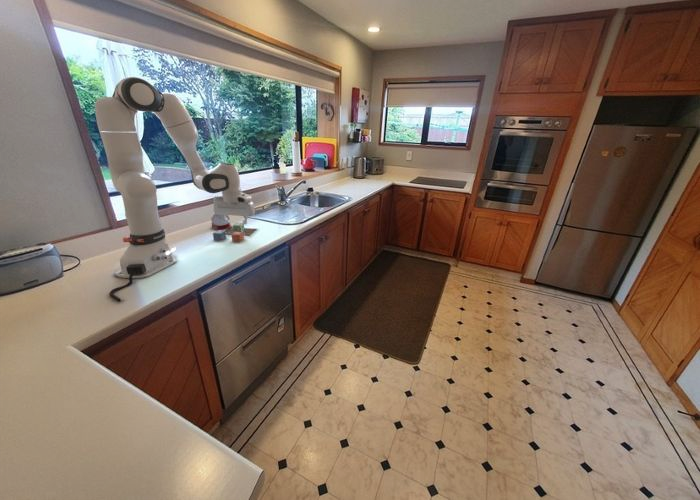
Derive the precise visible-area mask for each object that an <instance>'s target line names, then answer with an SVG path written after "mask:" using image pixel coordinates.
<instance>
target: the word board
mask: <svg viewBox="0 0 700 500" xmlns="http://www.w3.org/2000/svg"><path fill="white" fill-rule="evenodd" d="M244 229H245V231H243V234H244V237H251V236H252V235H253V234H254V233H255V232H257V231H258V228H249V227H244ZM224 231H225V234H226V236H232V235H231V234H233V233H234V231H233V226H232V227H231V226H230V227H229V228H226V229H224Z"/></svg>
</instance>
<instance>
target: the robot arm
mask: <svg viewBox="0 0 700 500" xmlns="http://www.w3.org/2000/svg"><path fill="white" fill-rule="evenodd" d="M94 113H95V119H96V125H97V129H98V131H99V134H100V135H99V136H100V139H101V141H102V145H103V148H104V152H105V155H106V159H107V160H106V161H107V165H108V169H109V174H110V178H111V182H112V185H113V187H114V189H115V190H116V191H117V192H118V193H120V195H121V197H122V201H123V208H124V216H125V219H126V222H127V226H128V229H129V237H127V236H124V237H123V238H122V242H124V243H128V246H127V248H126V249H125V251H124V252H123V254H122V255H121V257H120V259H119V267H120V268H118V270H116V271H115V272H114V275H115V276H116V277H117V278H122V279H123V278H124V279H128V283H126V284H125V285H122V286H119V287H116V288H112V289H111V290H110V291H109V296H110V298H112V299H114V300H115V301H117V302H121V300H122V299H121V298H120V297H118V296H117V295H115V294H114V293H115V292H116V291H117V292H118V291H120V290H122V289H125V288H128V287H130V286H131V285H132V283H133V279H143V278H148V277H150V276H152V275H154V274H155V273H158V272H160V271H162V270H164V269H166V268H167V267H169V266H171V265H173V264H176V263H177V259H176V258H175V255H174V254H173V252H175V251H176V247H174V248H171V247H170V245H169V243H168V241H167V240H166V232H165V230H164V228H163V226H162V222H161V219H160V215H159V208H158V207H159V206H158V196H157V190H158V189H157V185H156V183H155V181H154V180H153V179H152V178H151V177H150V176H149V175H147V174H146V173H145V168H144V151H143V149H142V148H143V147H142V144H141V140H140V136H139V133H138V129H137V126H136V120H135V119H136V115H137V113H152V114H154V115H155V116H156V117H157V118H158V119H159V120H160V122H161V124H162V126H163V128H164V129H165V132H166V133H167V134H168V136H169V137H170V138H171V140H172V141H173V143H174V145H176V147H177V148H178V150H179V151H180V153H181V154H182V156H183V158H184V160H185V162H186V164H187V166H188V168H189V170H190V175H191V181H192V183H193V185H194V186H195V188H197V189H199V190H202V191H205V192H206V193H209V194H219V193H221V195H215V196H214V197H212V203H213V212H214V214H217V215H222V217H223V219H224V220H225V223H229V222H230V223H231V220H230V221H229V219H227V217H226V216H227V215H228V216H233V217H235V216H236V217H243V220H242V223H243V224H244V225H247V224H248V220H249V217H253V216H254V215H255V214H256V210H255V209H256V207H255V204H254V202H253V199H252V198H253V197H252V195H250V194H247V193H245V192H242V188H241V185H240V183H241V179H240V174H239V170H238V167H237V165H235V164H233V163H229V162H218V165H216V166H215V167H213V168H212V169H208V168H207V167H206V166H205V164H204V161H203V160H202V157H201V156H200V154H199V152H198V150H197V142H198V140H199V137H200V136H199V135H200V134H199V133H198V132H199V131H198V128H197V126H196V123H195V122H194V120H193V118H192V116H191V114H190V112H189V111H188V109H187V108H186V107H185V105H184V103H183V101H182V100H181V99H180V98H179V97H178V96H177V95H176V94H174V93H172V92H167V91H166V92H162V91H160V90H159V89H158V88H156V86H154V85H153V84H151V83H150V82H149V81H147V80H145V79H144V78H141V77H138V76H131V77H130V76H129V77H125V78H122V79H121V80H120V81H119V82H118V83H117V84H116V85H115V88H114V90H113V94H112V96H103V97H100V98H98V99H96V100H95V102H94Z"/></svg>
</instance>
